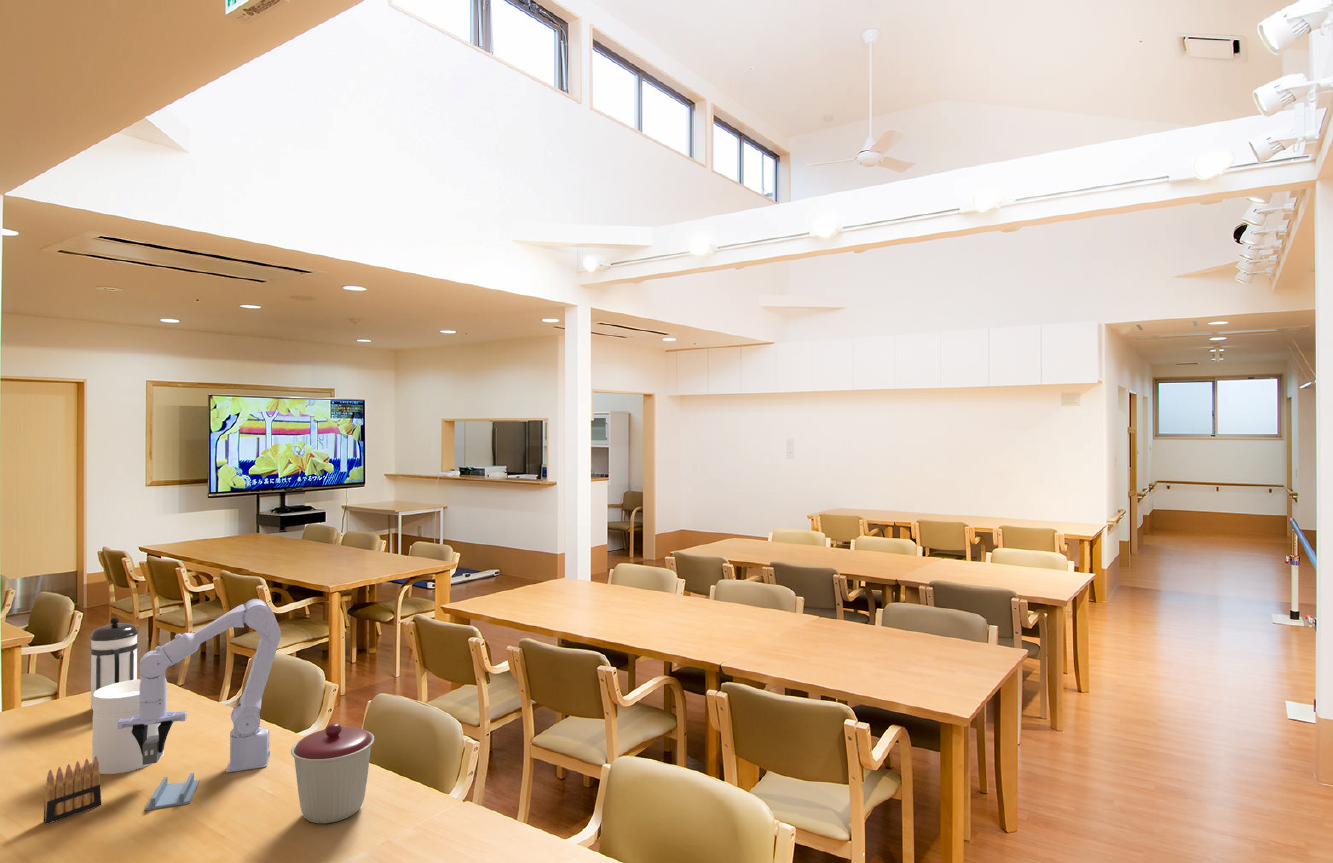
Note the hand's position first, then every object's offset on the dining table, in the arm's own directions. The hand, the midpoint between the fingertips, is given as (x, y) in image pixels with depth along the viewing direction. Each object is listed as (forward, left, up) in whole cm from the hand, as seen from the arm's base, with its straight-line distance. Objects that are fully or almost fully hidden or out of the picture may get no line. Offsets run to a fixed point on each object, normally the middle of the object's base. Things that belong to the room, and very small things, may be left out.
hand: (152, 752), depth 189 cm
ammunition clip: (+14, +10, -9) cm, 19 cm away
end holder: (-6, +9, -8) cm, 14 cm away
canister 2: (-43, +33, -9) cm, 55 cm away
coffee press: (+25, -66, -9) cm, 71 cm away
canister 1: (+10, -19, -9) cm, 23 cm away
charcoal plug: (0, 0, -2) cm, 2 cm away
